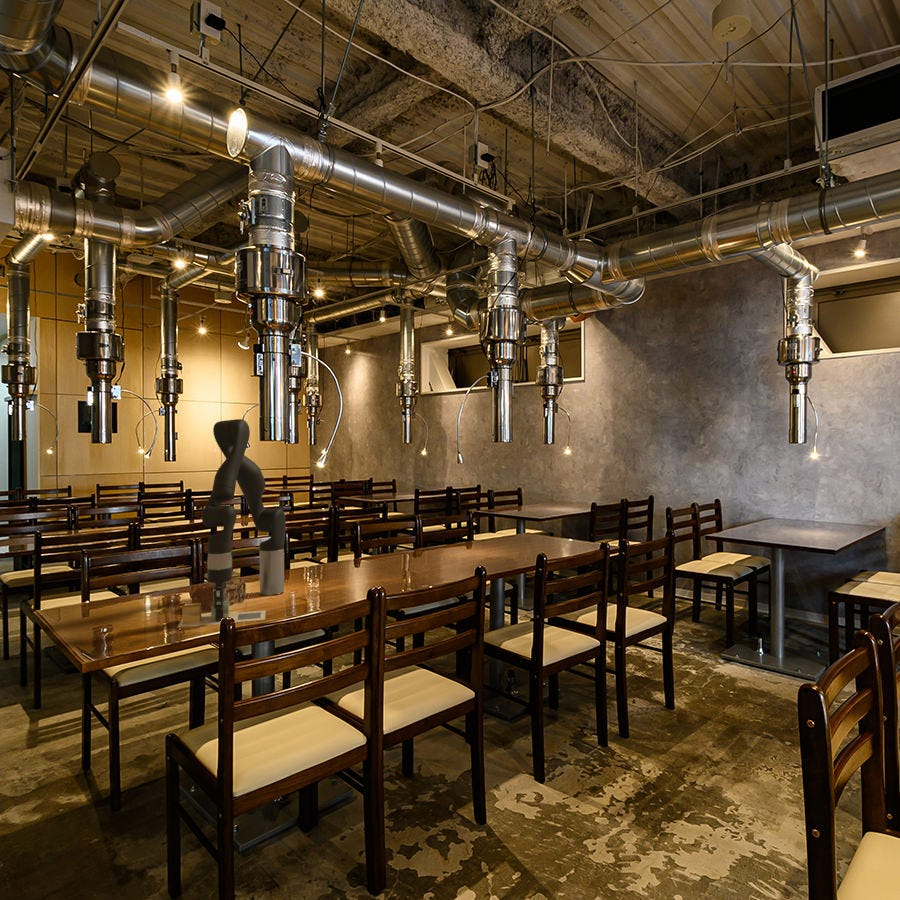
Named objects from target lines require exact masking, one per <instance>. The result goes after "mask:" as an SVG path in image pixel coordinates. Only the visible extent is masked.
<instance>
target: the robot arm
mask: <svg viewBox="0 0 900 900" xmlns="http://www.w3.org/2000/svg"><path fill="white" fill-rule="evenodd" d="M212 429H213V430H212V431H213V433H212V434H213V436H214V439H215V442H216V444H217V445H218V448H219V449H220V451H221V452H222V454H223V455H224V457H225V460H224V461H223V463H221V465H220V466H219V467H218V469H217V471H216V473H215V475H214V478H213V484H212V491H211V494H210V496H209V498H208V499H207V502H206V504H205V506H204V508H203V509H202V513H201V521H202V524H203V525H204V526H205V527H207V528H218V527H219V528H222V527H223V529H222V531H221V532H218V533H216V534H215V533H214V534H211V535H209V537H208V539H207V545H208V546H207V561H206V562H207V568H206V569H207V582H210V583H215V584H216V585H215V586H214V588H213V593H214V609H216V621H221V619H222V618H223V608H224V606H223V602H224V601H225V600H226V591H227V585H226V582H228V581H230V580H232V578H233V556H232V537H233V531H234V527H235V524H236V522H237V516H238V514H237V509H236V507H234V506H233V505H230V504H226V505H225V504H223V503H226V502H230V501H232V500H234V497H235V493H236V492H235V491H236V485H238V486H239V488H240V491H241V492H242V494H243V497H244V499H245V500H246V503H247V506H248V508H249V511H250V515H251V518H252V521H253V524H254V526H255V528H256V529H257V531H258V532H262V533H271V535H270V538H268V539H266V540H263V541H261V542H259V547H258V548H259V595H261V594H263V595H262V596H272V595H271V594H278V593H282V592H284V593H285V543H286V542H285V541H286V524H287V523H286V514H285V511H284V510H283V509H281V508H266V507H265V506H264V504H263V501H262V497H263V495H264V492H265V488H266V480H265V478H264V475H263V473H262V471H261V468H260V467H259V466H258V464H257V463H255V462H254V461H253V460H252V459H250V458H249V457H247V456H246V455H245V453H246V450H247V448H248V447H247V446H248V443H249V441H250V436H251V435H250V434H251V433H250V432H251V431H250V426H249V424H248V422H247V421H246V419H245V420H244V419H240V418H239V419H236V418H234V419H228V420H220V421H217V422H216V423H214V425H213V428H212ZM282 594H283V593H282ZM278 595H279V594H278ZM217 602H221V604H220V605H217Z"/></svg>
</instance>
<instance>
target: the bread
mask: <svg viewBox="0 0 900 900" xmlns="http://www.w3.org/2000/svg"><path fill="white" fill-rule="evenodd" d="M215 585H216V584H215V583H210V582H208V581H207V582H206V583H202V584H200V585H199V586H197V587H195V589H193V590H192V593H191V604H197V603H201V612H211V605H212V603H213V602H214V593H213V588H214V586H215ZM226 585H227V591H226V600H225V601H229V607H230V606H233V605H236V604H241V603H243V602H245V599H246V594H247V593H246V590H247V589H246V588H247V587H246V585H247V584H246V581H244V579H241V578H238V577H237V578H236V577H232V580H230V581H228V582H226ZM240 602H241V603H240Z"/></svg>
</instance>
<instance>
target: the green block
mask: <svg viewBox="0 0 900 900" xmlns="http://www.w3.org/2000/svg"><path fill="white" fill-rule="evenodd" d="M220 604H221V602H217V605H220ZM223 606H224V608H223V618H226V617H229V613H230V606H229V601H224V602H223ZM210 613H211V614H210V615H211V621H216V609H214V602H213V603H212V605H211V611H210Z"/></svg>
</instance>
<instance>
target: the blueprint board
mask: <svg viewBox="0 0 900 900" xmlns="http://www.w3.org/2000/svg"><path fill="white" fill-rule="evenodd" d="M229 617H231V618H233V619H234V620H235V621H236V622H235V623H241V622H243V623H244V622H251V621H252V622H253V621H254V622H255V621H264V620H266V610H255V611H254V610H253V611H241V612H229ZM208 625H209V626H210V625H220V621H211V614H208V615H207V614H206V615H201V620H200V622H199V623H188V624H182V619H181V620H180V622H179V623H178V625H177V628H187V627H197V626H199V627H200V626H208Z"/></svg>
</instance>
